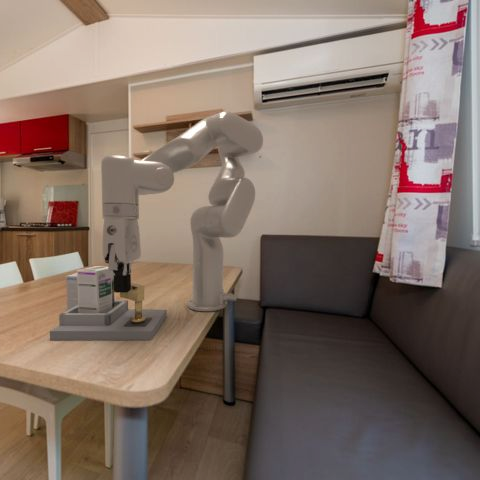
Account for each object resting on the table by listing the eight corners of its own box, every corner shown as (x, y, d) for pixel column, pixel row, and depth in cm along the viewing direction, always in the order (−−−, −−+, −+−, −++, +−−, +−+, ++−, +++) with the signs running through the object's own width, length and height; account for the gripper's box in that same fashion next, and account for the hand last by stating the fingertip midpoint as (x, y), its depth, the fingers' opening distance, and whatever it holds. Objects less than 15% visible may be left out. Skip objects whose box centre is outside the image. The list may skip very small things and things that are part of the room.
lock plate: (166, 316, 68) (166, 300, 68) (151, 340, 54) (151, 320, 54) (86, 316, 67) (86, 300, 66) (49, 340, 53) (49, 319, 53)
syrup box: (98, 330, 58) (97, 270, 57) (77, 327, 59) (76, 268, 59) (115, 321, 64) (115, 266, 63) (95, 319, 65) (95, 265, 64)
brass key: (136, 324, 56) (136, 288, 56) (117, 316, 60) (117, 283, 60) (148, 319, 59) (148, 285, 59) (129, 313, 63) (129, 281, 63)
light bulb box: (86, 301, 80) (86, 268, 79) (108, 301, 80) (107, 268, 79) (65, 313, 69) (65, 275, 68) (90, 313, 69) (90, 275, 69)
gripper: (124, 211, 49) (125, 301, 50) (148, 214, 63) (149, 283, 65) (85, 210, 48) (87, 301, 49) (118, 213, 63) (120, 283, 64)
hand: (122, 291), depth 57 cm, fingers closed
